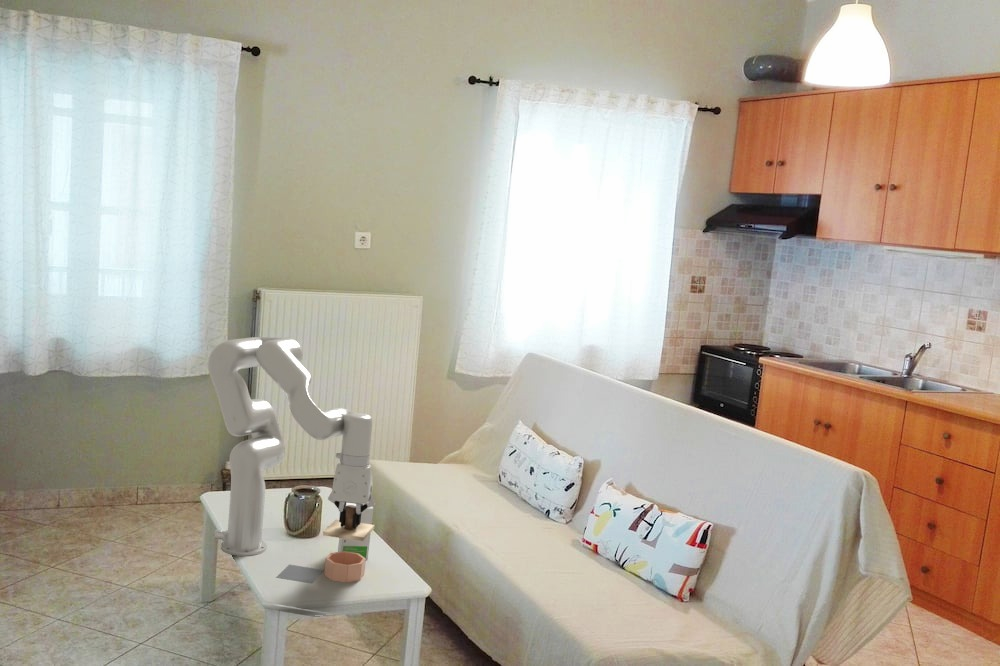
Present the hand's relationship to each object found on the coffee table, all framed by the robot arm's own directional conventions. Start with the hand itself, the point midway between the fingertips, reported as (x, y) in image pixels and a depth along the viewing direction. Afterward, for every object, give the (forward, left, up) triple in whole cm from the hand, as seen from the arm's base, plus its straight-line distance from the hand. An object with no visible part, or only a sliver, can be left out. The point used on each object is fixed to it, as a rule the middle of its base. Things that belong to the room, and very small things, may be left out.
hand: (349, 525), depth 258 cm
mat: (-11, -4, -14) cm, 19 cm away
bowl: (0, 0, -14) cm, 14 cm away
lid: (0, 0, -2) cm, 2 cm away
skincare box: (-2, +15, -14) cm, 21 cm away
